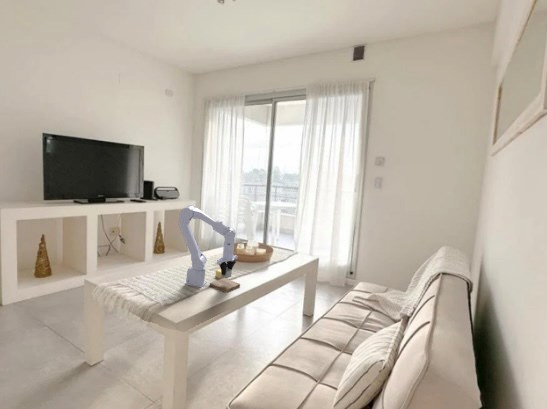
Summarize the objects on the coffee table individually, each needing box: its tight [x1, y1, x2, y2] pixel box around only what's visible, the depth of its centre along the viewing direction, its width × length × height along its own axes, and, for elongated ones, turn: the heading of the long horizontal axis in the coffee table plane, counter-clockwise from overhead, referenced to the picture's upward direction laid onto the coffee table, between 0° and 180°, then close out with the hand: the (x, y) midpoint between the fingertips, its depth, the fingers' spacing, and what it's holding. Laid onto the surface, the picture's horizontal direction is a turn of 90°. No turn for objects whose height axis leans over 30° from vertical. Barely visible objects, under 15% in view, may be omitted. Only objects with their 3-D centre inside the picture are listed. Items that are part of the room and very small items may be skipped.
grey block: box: [221, 268, 233, 279], centre depth 169 cm, size 4×4×4 cm
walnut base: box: [209, 277, 241, 293], centre depth 170 cm, size 12×12×2 cm
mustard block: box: [215, 268, 224, 279], centre depth 183 cm, size 4×4×4 cm
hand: (226, 273), depth 170 cm, fingers closed on grey block, 4 cm apart
